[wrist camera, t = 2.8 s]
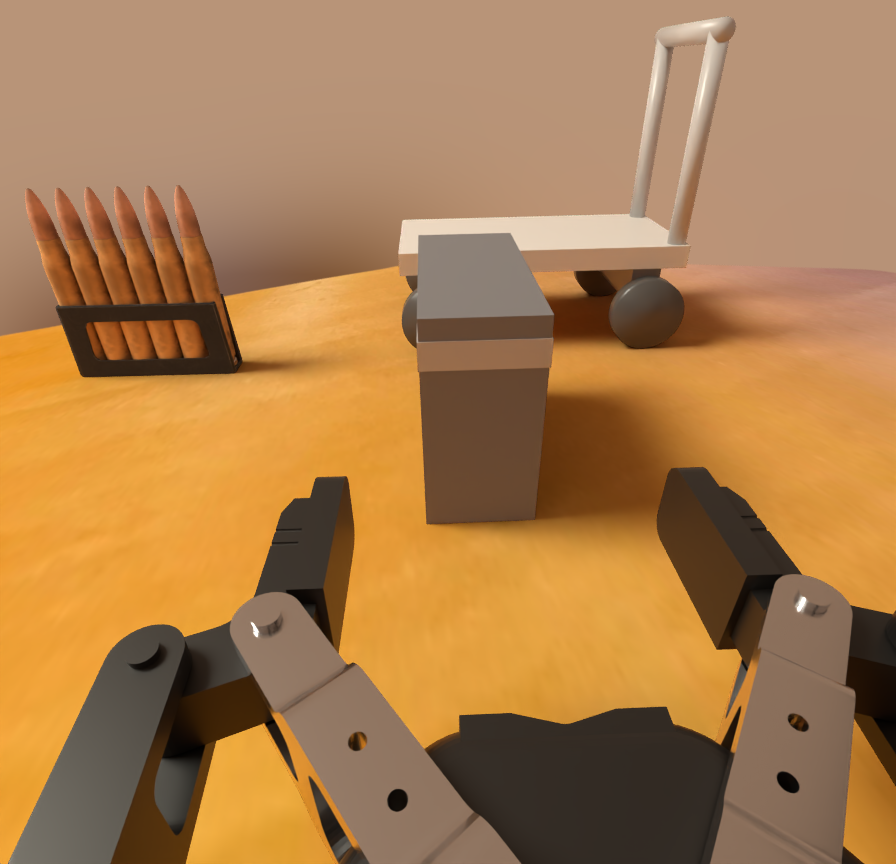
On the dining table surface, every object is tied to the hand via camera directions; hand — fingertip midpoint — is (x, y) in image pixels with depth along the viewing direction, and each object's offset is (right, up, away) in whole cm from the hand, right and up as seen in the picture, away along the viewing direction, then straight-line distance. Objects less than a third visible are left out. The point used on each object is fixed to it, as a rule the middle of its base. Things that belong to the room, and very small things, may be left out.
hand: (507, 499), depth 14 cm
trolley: (+5, +11, +32) cm, 34 cm away
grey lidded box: (0, +1, +17) cm, 17 cm away
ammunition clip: (-22, +6, +25) cm, 34 cm away
